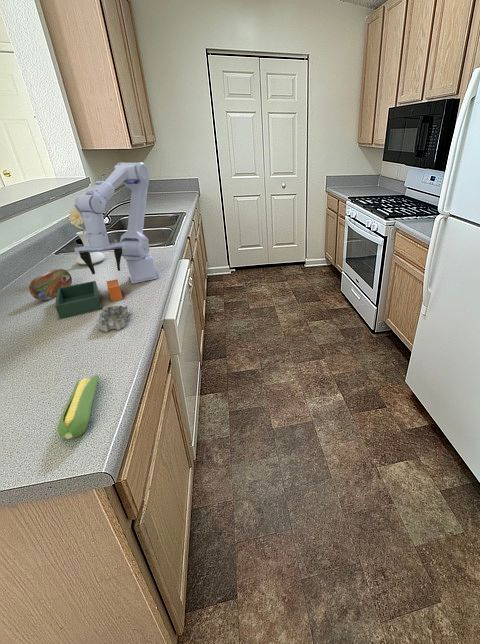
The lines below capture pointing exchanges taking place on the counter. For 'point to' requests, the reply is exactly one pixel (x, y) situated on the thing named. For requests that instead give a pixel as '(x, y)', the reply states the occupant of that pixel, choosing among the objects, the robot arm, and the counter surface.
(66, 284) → the tin
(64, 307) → the bin
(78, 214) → the flower in vase
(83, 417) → the edible corn
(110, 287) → the orange block
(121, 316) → the grey stone
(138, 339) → the counter surface
